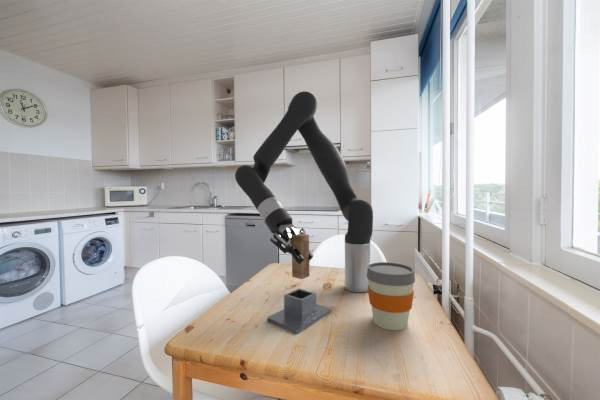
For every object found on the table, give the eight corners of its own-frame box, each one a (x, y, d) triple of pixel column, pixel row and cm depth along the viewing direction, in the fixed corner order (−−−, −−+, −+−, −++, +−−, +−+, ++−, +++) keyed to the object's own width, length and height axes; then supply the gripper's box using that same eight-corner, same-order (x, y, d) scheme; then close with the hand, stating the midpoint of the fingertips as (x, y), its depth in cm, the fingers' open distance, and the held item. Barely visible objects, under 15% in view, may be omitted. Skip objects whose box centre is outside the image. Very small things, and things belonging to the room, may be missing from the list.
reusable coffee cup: (359, 325, 72) (359, 270, 72) (375, 308, 82) (375, 259, 82) (409, 339, 65) (409, 278, 64) (419, 318, 75) (419, 266, 75)
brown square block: (299, 273, 79) (299, 233, 79) (309, 276, 77) (308, 234, 77) (292, 276, 77) (291, 235, 76) (301, 279, 74) (301, 236, 74)
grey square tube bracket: (302, 302, 87) (302, 282, 87) (331, 311, 80) (331, 290, 80) (267, 321, 75) (266, 298, 75) (297, 334, 68) (297, 308, 68)
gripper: (263, 208, 75) (297, 257, 68) (295, 205, 86) (328, 247, 79) (251, 225, 79) (282, 274, 72) (283, 221, 90) (313, 262, 83)
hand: (306, 260), depth 75 cm, fingers closed on brown square block, 3 cm apart
